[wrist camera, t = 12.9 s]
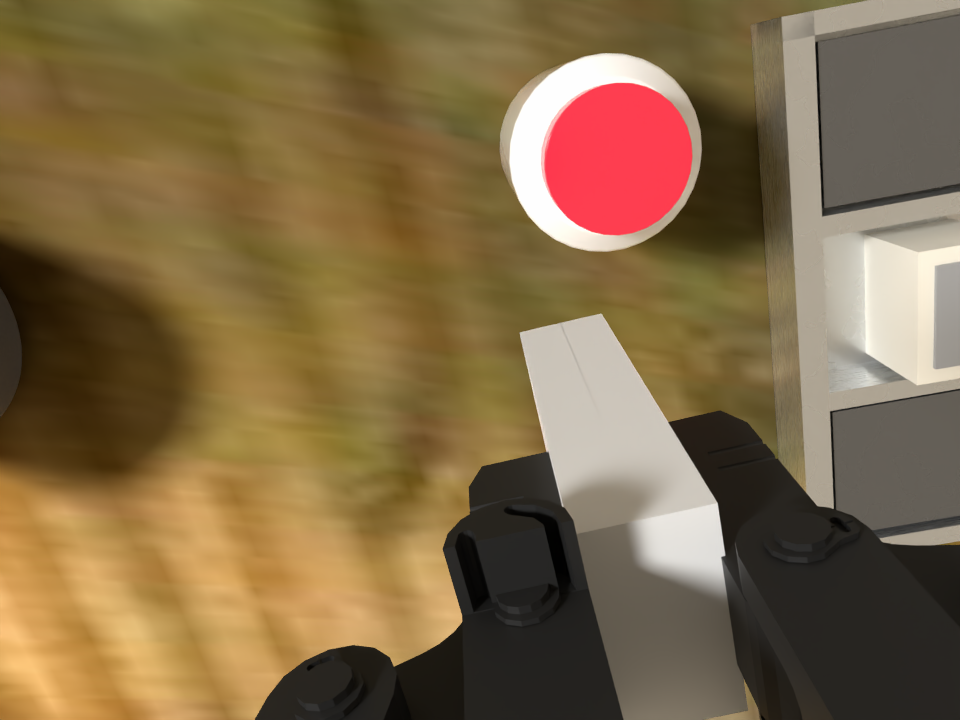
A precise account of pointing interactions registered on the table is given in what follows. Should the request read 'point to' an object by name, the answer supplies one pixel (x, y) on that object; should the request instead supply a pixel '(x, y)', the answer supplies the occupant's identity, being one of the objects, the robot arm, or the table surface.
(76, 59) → the table surface
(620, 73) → the pill bottle
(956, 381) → the tray
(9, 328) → the planter
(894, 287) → the white block
